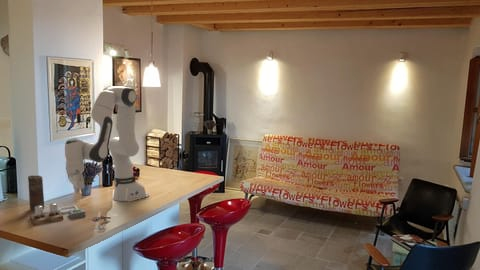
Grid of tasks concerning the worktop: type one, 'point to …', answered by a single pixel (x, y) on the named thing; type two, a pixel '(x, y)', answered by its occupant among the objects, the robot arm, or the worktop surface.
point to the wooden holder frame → (46, 218)
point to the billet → (53, 209)
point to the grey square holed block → (76, 213)
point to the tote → (67, 209)
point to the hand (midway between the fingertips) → (77, 192)
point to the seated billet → (38, 212)
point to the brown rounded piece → (35, 192)
